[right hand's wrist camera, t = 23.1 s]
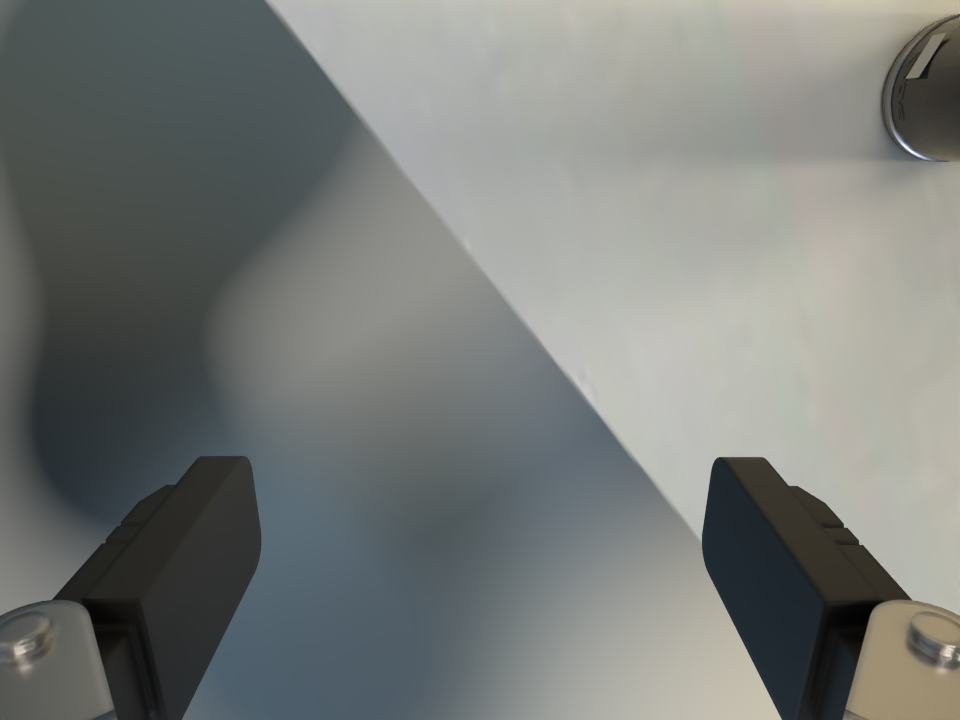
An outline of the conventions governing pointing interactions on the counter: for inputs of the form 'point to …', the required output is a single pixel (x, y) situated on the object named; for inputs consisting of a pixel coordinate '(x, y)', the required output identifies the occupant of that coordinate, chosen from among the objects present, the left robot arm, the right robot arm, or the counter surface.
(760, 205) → the counter surface
